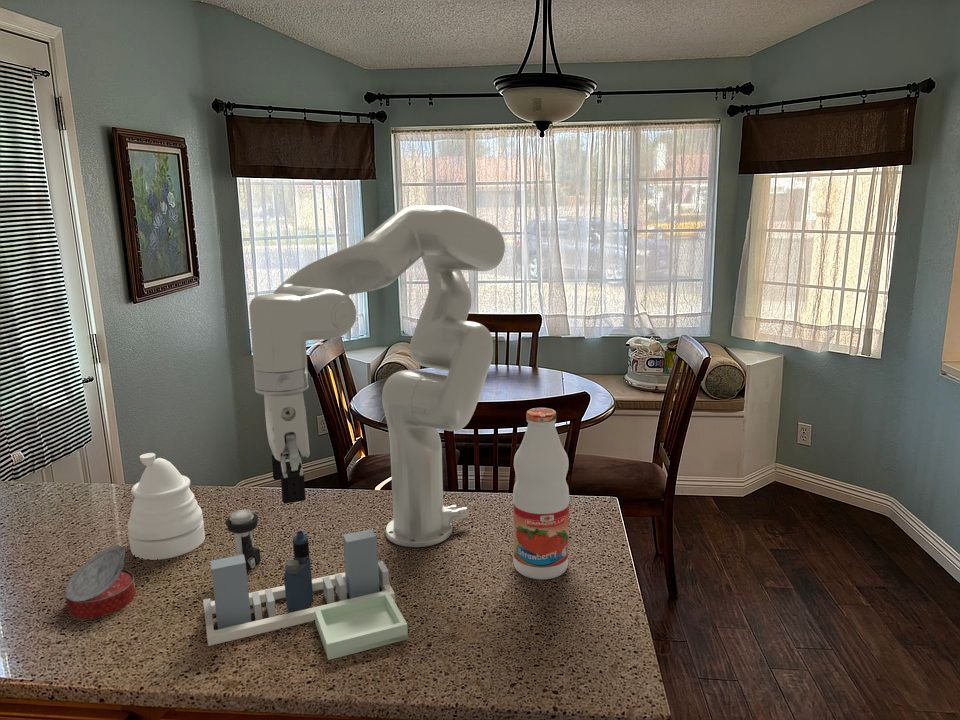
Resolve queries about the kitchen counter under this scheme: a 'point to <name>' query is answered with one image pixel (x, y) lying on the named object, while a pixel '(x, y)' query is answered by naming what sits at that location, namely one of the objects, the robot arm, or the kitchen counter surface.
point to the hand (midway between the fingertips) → (288, 489)
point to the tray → (360, 625)
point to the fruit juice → (541, 499)
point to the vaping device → (299, 576)
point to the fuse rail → (236, 600)
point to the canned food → (100, 585)
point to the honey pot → (163, 513)
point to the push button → (244, 535)
